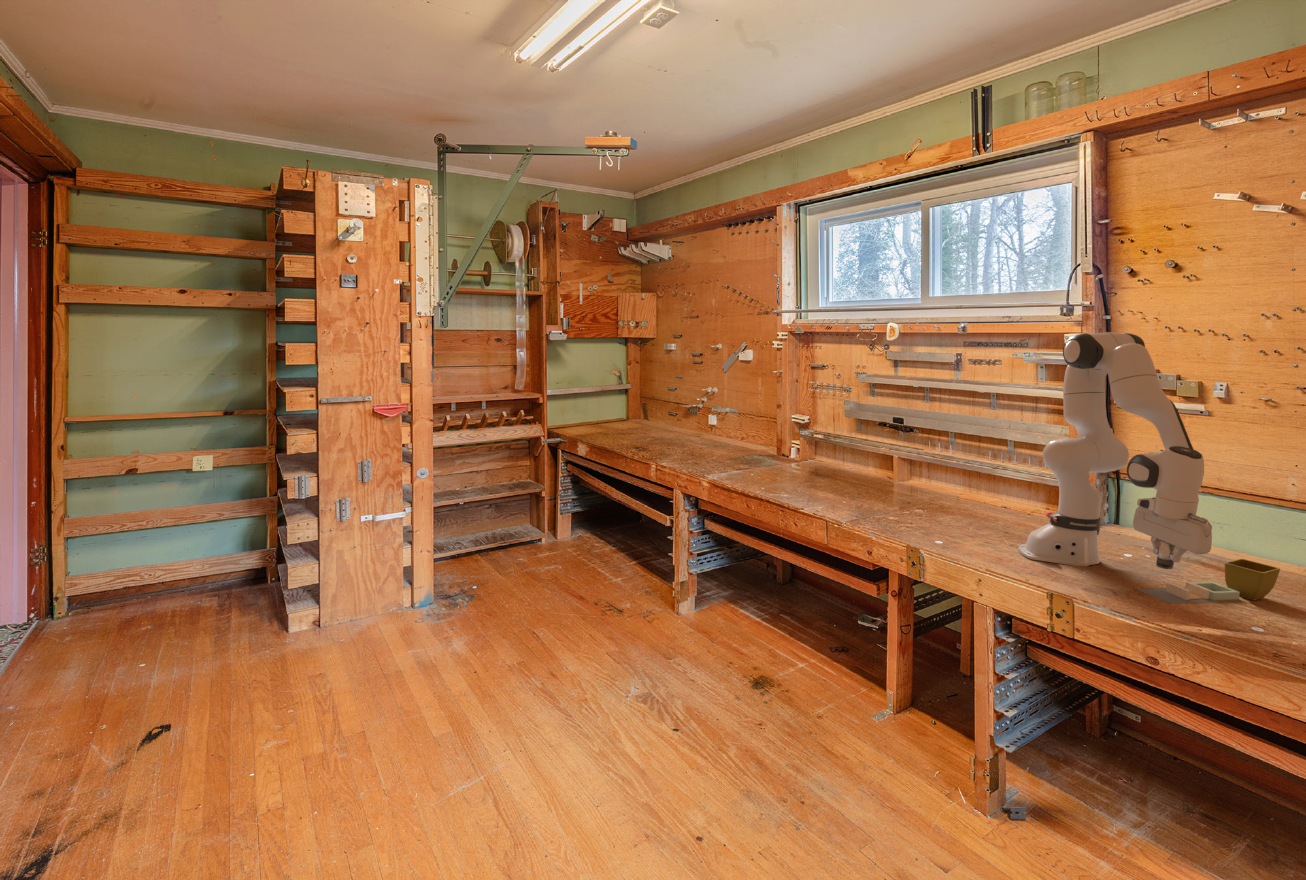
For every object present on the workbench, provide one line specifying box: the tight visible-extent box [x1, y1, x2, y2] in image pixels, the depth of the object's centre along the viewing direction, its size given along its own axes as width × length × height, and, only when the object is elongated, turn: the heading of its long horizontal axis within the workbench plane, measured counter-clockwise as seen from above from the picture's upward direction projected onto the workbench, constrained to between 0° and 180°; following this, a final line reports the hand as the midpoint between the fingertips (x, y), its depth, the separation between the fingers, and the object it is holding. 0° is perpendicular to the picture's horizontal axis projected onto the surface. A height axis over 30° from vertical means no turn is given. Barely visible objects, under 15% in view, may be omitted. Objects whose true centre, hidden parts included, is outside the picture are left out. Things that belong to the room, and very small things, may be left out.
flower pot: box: [1224, 558, 1281, 601], centre depth 177 cm, size 9×9×9 cm
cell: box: [1155, 540, 1177, 570], centre depth 173 cm, size 4×4×8 cm
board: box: [1136, 587, 1243, 605], centre depth 175 cm, size 22×10×1 cm, turn 97°
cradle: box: [1165, 581, 1210, 600], centre depth 175 cm, size 7×6×2 cm
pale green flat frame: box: [1190, 581, 1240, 600], centre depth 176 cm, size 8×8×2 cm
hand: (1165, 557), depth 173 cm, fingers closed on cell, 4 cm apart
